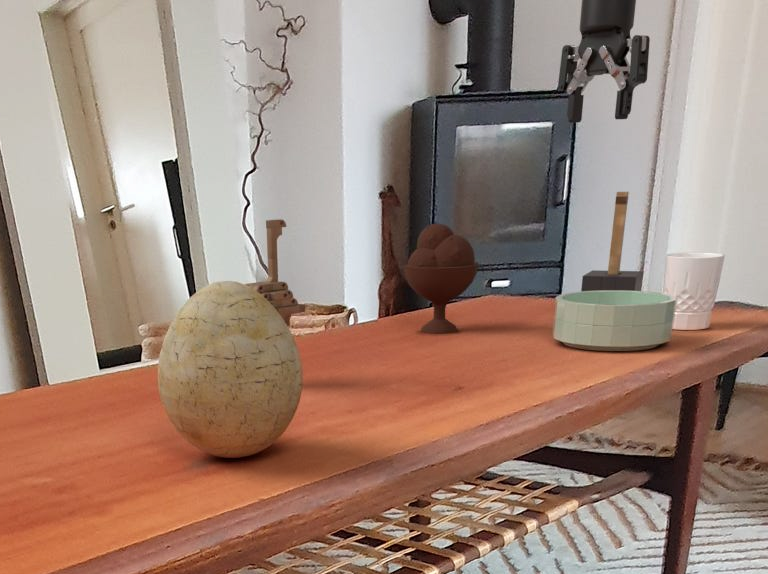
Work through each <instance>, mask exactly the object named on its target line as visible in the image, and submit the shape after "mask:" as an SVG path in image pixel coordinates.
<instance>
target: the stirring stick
mask: <svg viewBox="0 0 768 574" xmlns="http://www.w3.org/2000/svg"><path fill="white" fill-rule="evenodd" d="M615 193H616V195H615V203H614V213H613V222H612V230H611V239H610V247H609V248H610V249H609V255H608V256H609V257H608V258H609V259H608V266H607V271H608V274H619V272H620V271H621V263H622V253H623V245H624V236H625V230H626V229H625V227H626V219H627V211H628V203H629V194H630V193H629V191H616V192H615Z"/></svg>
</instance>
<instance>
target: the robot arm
mask: <svg viewBox="0 0 768 574" xmlns="http://www.w3.org/2000/svg"><path fill="white" fill-rule="evenodd" d="M636 4H637V0H581V7H580V17H579V18H580V20H579V32H580V34H581V39H580V43H579V44H578V45H575V44H574V45H573V44H565V45H563V47H562V49H561V58H560V64H559V73H558V82H557V90H559V91H560V92H561V91H562V92H564V93H566V94H567V96H568V101H567V110H566V111H567V113H566V116H567V119H568V122H569V123H570V124H572V123H573V124H577V123H581V122H582V119H583V118H582V117H583V108H584V96H585V95H584V94H583V93H584V91H585V89H586V87H587V86H588V84H589V83H590V82H591V81H593V79H594V78H595V76H603V75H610V76H611V77H612V78H613V79H614V81H615V82H616V84H617V87H618V88H619V90H617V91H616V100H615V101H616V102H615V111H614V118H615V120H627V119H628V118H629V115H631V111H632V104H633V96H634V90H635V88H636V87H638V86H639V85H642V84H645V83H646V82H647V80H648V72H649V71H648V70H649V56H650V42H651V41H650V40H651V39H650V36H649V35H643V34H635V35H633V36H632V37H631V31H632V29H633V27H634V24H635V15H636ZM629 53H630V62H629V61H628V59H627V55H628V54H629ZM579 60H580V61H579ZM578 61H579V62H578Z"/></svg>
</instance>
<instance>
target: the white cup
mask: <svg viewBox="0 0 768 574" xmlns="http://www.w3.org/2000/svg"><path fill="white" fill-rule="evenodd" d="M725 256H726V255H725V254H723V253H719V252H698V251H697V252H695V251H694V252H675V253H674V252H673V253H667V254H666V255H665V261H664V262H665V263H664V272H663V273H664V274H663V285H662V293H664V294H669V295H673V296H675V297H677V298H678V299H677V306H676V313H675V320H674V327H673V330H677V331H699V330H705V329H708V328H710V324H711V319H712V314H713V309H714V307H715V304H716V303H715V302H716V299H717V294H718V290H719V286H720V282H721V281H720V280H721V277H722V276H721V275H722V272H723V271H722V270H723V266H724V261H725Z"/></svg>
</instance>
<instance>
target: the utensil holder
mask: <svg viewBox="0 0 768 574" xmlns="http://www.w3.org/2000/svg"><path fill="white" fill-rule="evenodd" d="M643 278H644V270H620V272H619V274H608V270H590V271H589V272H587V273H585V274H584V275H582V279H581V287H580V288H581V289H580V291H597V290H628V291H642V286H643V280H644V279H643Z"/></svg>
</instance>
